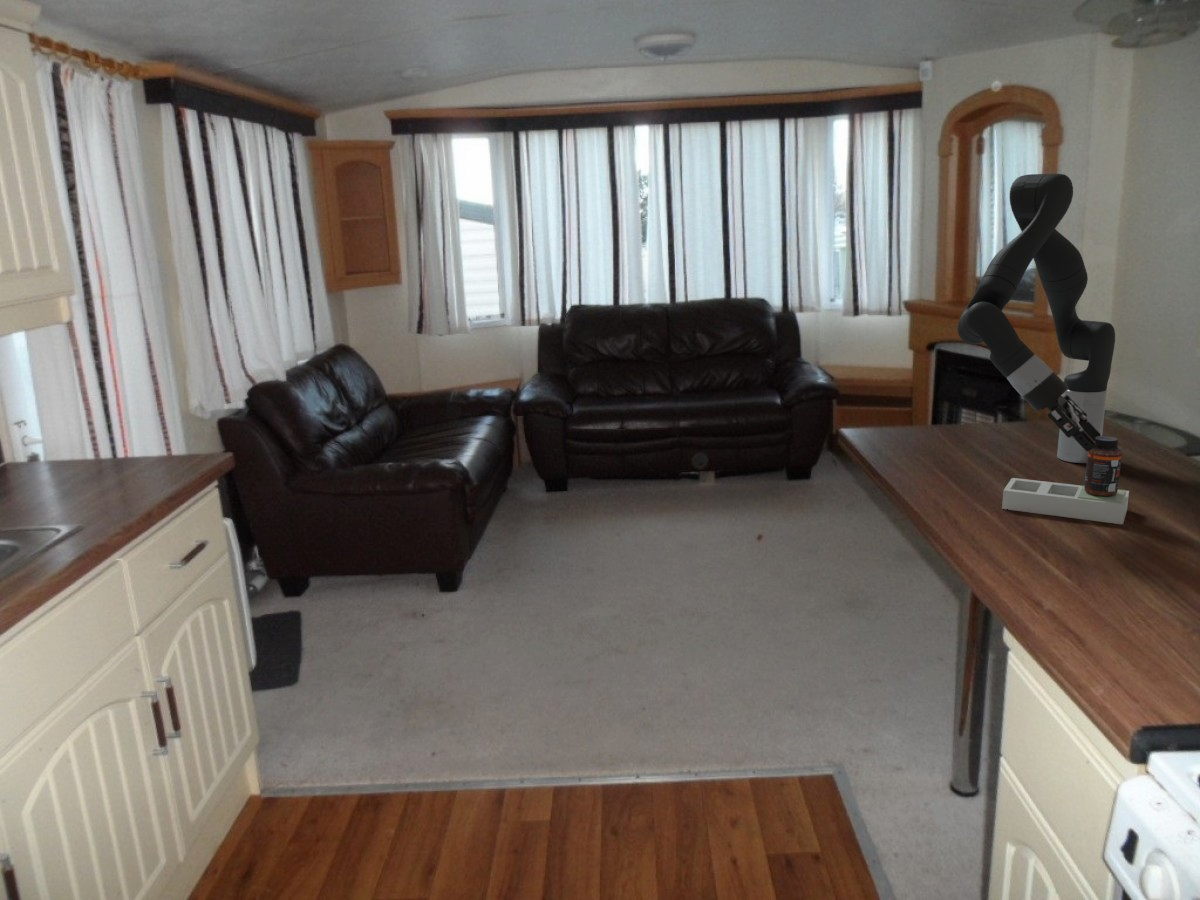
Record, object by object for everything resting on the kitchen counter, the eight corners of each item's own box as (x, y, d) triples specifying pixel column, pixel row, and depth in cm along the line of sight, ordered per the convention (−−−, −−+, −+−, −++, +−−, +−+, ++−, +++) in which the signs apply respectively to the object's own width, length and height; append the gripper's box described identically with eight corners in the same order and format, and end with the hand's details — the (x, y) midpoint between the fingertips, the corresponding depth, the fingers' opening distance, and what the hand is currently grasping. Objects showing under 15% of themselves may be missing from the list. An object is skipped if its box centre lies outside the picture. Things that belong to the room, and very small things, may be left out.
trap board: (1010, 495, 203) (1012, 476, 202) (1127, 509, 191) (1129, 489, 190) (1001, 508, 194) (1003, 488, 193) (1123, 524, 183) (1125, 503, 182)
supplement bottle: (1121, 498, 185) (1127, 442, 182) (1088, 496, 186) (1094, 441, 183) (1112, 489, 191) (1118, 434, 188) (1080, 488, 192) (1086, 434, 189)
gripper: (1046, 376, 182) (1108, 440, 179) (1056, 364, 194) (1114, 424, 191) (1015, 401, 186) (1074, 463, 183) (1026, 388, 198) (1082, 446, 195)
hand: (1094, 443), depth 187 cm, fingers open, 8 cm apart
